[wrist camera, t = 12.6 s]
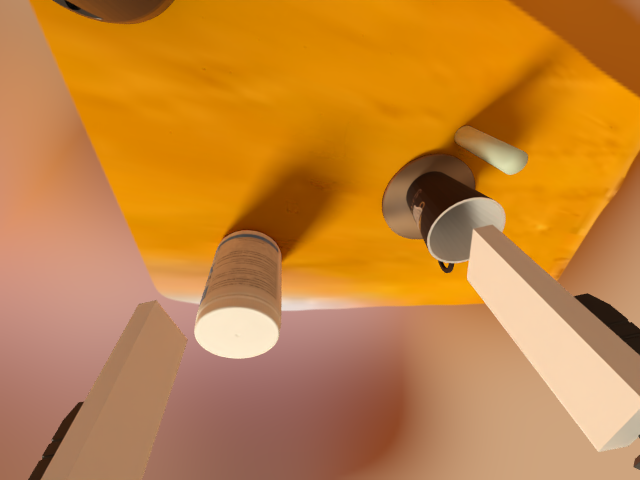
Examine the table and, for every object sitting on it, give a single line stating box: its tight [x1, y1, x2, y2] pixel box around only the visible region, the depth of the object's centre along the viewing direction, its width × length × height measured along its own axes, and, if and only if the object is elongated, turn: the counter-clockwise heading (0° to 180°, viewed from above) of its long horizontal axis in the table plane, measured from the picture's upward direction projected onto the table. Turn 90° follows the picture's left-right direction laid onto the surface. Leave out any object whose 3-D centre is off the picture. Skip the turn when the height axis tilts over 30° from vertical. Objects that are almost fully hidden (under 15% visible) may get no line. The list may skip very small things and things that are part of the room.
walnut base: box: [382, 154, 475, 239], centre depth 41 cm, size 13×13×1 cm
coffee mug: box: [406, 171, 505, 273], centre depth 36 cm, size 12×9×10 cm
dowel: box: [454, 126, 528, 175], centre depth 32 cm, size 2×2×10 cm
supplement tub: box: [194, 230, 281, 358], centre depth 38 cm, size 10×10×15 cm
